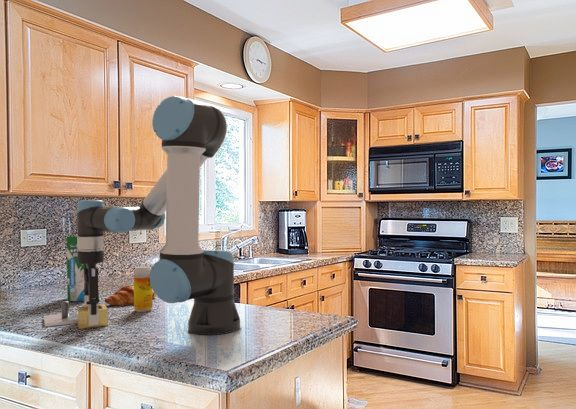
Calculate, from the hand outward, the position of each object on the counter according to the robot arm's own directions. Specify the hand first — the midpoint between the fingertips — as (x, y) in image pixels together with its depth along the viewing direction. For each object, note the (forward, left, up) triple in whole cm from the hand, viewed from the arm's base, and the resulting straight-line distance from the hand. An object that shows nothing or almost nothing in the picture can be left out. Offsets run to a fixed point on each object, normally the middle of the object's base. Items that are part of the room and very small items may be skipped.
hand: (91, 320), depth 148 cm
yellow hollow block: (-1, 0, -1) cm, 1 cm away
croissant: (+27, -17, -2) cm, 32 cm away
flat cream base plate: (+9, +7, -1) cm, 11 cm away
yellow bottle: (+11, -18, -1) cm, 21 cm away
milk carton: (+44, -1, -1) cm, 44 cm away
